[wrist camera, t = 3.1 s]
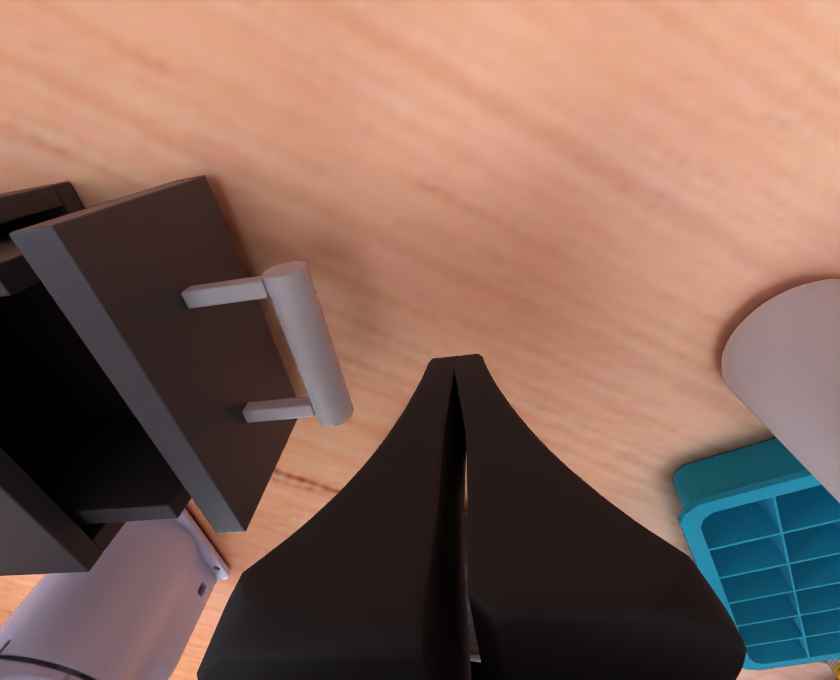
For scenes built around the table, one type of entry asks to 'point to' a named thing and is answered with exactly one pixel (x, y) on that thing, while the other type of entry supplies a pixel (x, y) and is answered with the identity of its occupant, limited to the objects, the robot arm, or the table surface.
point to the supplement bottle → (835, 666)
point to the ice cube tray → (767, 550)
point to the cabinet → (7, 482)
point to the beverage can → (794, 373)
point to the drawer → (154, 360)
